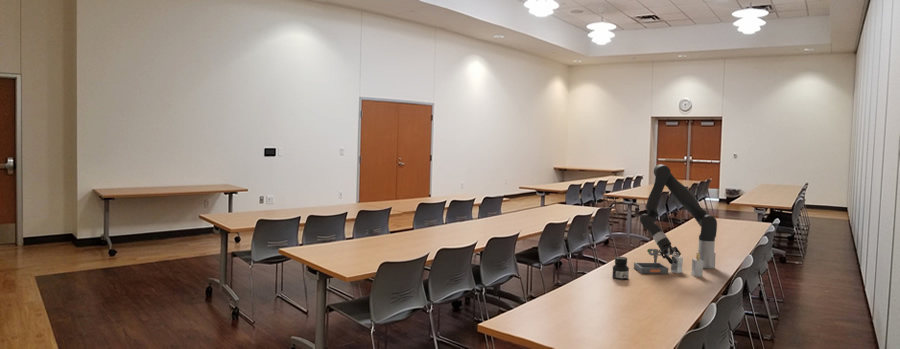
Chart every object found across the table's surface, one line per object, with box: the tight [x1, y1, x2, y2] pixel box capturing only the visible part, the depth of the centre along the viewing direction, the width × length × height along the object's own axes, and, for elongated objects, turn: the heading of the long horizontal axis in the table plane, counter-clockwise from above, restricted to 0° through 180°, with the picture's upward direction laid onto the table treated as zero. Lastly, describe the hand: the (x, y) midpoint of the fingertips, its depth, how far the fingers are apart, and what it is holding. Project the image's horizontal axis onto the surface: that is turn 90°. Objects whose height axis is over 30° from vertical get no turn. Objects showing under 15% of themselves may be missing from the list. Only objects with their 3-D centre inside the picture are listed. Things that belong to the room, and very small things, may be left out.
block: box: [670, 255, 684, 274], centre depth 344 cm, size 4×4×10 cm
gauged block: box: [691, 252, 704, 278], centre depth 336 cm, size 4×4×14 cm
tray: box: [633, 262, 669, 275], centre depth 346 cm, size 16×14×4 cm
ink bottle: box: [611, 256, 630, 281], centre depth 327 cm, size 10×9×12 cm
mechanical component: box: [646, 248, 662, 263], centre depth 363 cm, size 3×10×10 cm, turn 89°
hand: (676, 262), depth 344 cm, fingers open, 8 cm apart
